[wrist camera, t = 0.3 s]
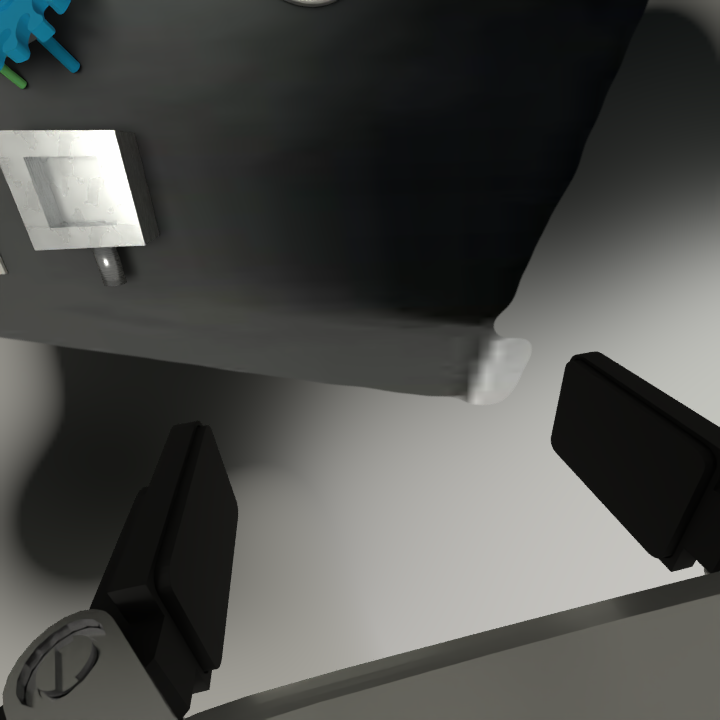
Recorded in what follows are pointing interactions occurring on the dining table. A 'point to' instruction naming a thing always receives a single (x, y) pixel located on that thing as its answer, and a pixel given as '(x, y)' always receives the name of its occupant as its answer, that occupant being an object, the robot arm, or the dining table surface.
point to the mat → (2, 267)
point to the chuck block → (80, 192)
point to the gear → (29, 34)
